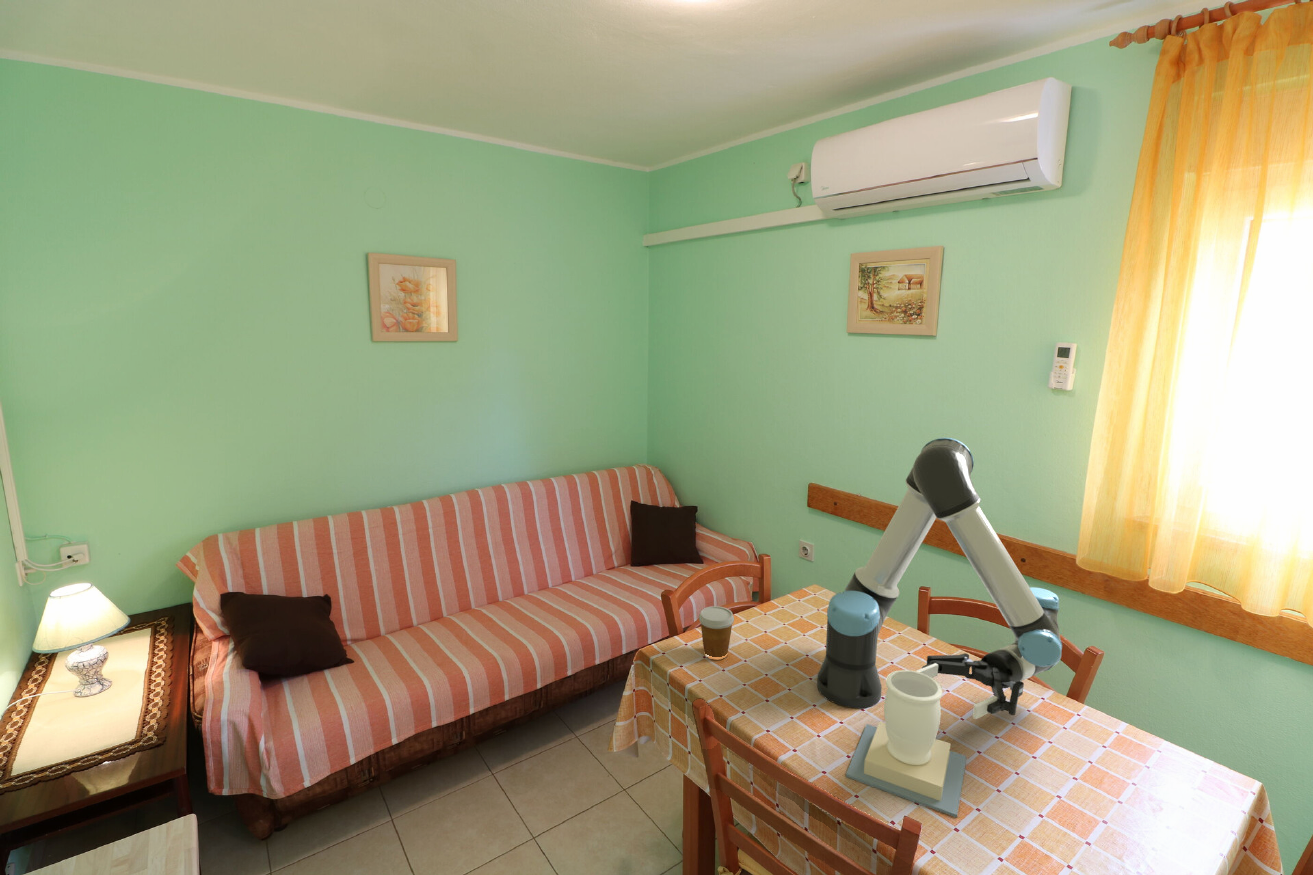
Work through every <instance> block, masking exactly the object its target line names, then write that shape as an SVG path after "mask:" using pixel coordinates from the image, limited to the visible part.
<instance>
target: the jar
mask: <svg viewBox="0 0 1313 875" xmlns="http://www.w3.org/2000/svg"><path fill="white" fill-rule="evenodd" d="M916 671H917V670H910V669H909V670H908V669H907V670H906V669H899V670H894V671H892V672H890V673H889V674H888V675H887V676H886V679H885V685H886V688H887V689H886V693H885V697H884V704H883V714H884V716H883V717H884V720H885V722H884V723H885V725H886V732H887V736H888V738H889V740H888V742H887V748H888V751H889V752H890V754H891V755H892V756H893V757H895V758H896V759H898V760H899V761H901V762H904V763H907V764H911V765H922V764H925V763H927V762H928V761H929V760H930V759H931V750H930V749H931V748H932V746H933V744H934V742H935V739H937V734H938V732H939V729H940V724H941V716H942V714H941V713H942V712H941V711H942V710H941V701H940V700H941V698H942V697H943V687H942V685H941V684H940V683H939V681H937V679H935V678H934V677H933V678H932V677H930V676H928V675H926V674H923V673H920V672H916Z"/></svg>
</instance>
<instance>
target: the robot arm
mask: <svg viewBox="0 0 1313 875" xmlns="http://www.w3.org/2000/svg"><path fill="white" fill-rule="evenodd" d="M974 461H975V460H974V457H973V454H972V453H971V450H970V449H969V447H968V446H967V445H966V444H964V443H963V442H962V441H960V440H959V439H955V438H953V437H938V438H935V439H933V440H930V441H928V442H927V443H926V444H924V446H923V447H922V449H921V450H920V452H919V454H918V456H916V459H915V460H914V462H913V465H912V468H911V469H910V471H909V473H908V474H907V477H906V479H905V481H904V483H905V484H906V487H907V491H906V492H905V494H904V496H903V498H902V500H901V502H900V503H899V505H898V507H897V509H896V511H895V513H894V514H893V516H892V518H891V520H890V521H889V523H888V525H887V527H886V528H885V530H884V532H883V534H882V536H881V538H880V539H879V541H878V543H877V545H876V547H875V548H874V550H873V551H872V554H871V555H870V557H869V559H868V561H867V563H866V564H865V566H862V567H861V566H860V567H858V568H857V569H856V570H855V572H854V573H853V575H852V577H851V579H850V580H849V582H848V584H847V585H846V586H845V589H844V590H843V591H842V592H836V593H835V594H834V595H833V596H832V597H831V598H830V599H829V602H828V606H827V611H826V617H827V623H826V624H827V625H826V641H825V657H824V659H823V662H822V664H821V666H820V668H819V670H818V672H817V676H816V689H817V691H818V692H819V691H820V692H819V693H820V695H821V696H822V697H824V698H825V697H826V698H827V699H826V698H825V699H826V700H828V699H829V700H828V701H830V702H831V701H833V702H834V704H836V705H838V706H842V707H845V708H846V707H847V708H853V709H864V708H869V707H872V706H874V705H876V704H878V703H879V701H880V700H881V699H882V690H883V689H882V683H881V678H880V675H879V672H878V668H877V665H876V662H877V660H876V659H877V650H878V649H877V647H878V638H879V634H880V631H881V629H882V627H883V624H884V622H885V619H886V618H887V616H888V614H889V612H890V611H891V609H892V607H893V606H894V604H895V602H896V600H897V599H898V597H899V595H900V589H899V588H898V584H899V582H900V581H901V579H902V577H903V575H904V574H905V572H906V570H907V569H908V567H909V565H910V563H911V562H912V560H913V558H914V556H915V555H916V553H917V552H918V550H919V548H920V546H921V544H923V541H924V540H925V539H926V536H927V534H928V533H929V531H930V530H931V528H932V526H933V524H934V522H935V521H936V519H937V520H940V521H943V522H945V524H946V526H947V527H948V529H949V530H950V533H952V536H953V537H954V538H955V541H957V543H958V545H959V547H960V548H961V550H962V552H963V554H964V556H966V558H967V560H968V562H969V563H970V565H971V567H972V568H973V569H974V572H975V573H976V574H977V576H978V577H979V580H980V581H981V582H982V584H983V586H984V588H985V589H986V591H987V593H988V594H989V595H990V597H991V599H992V600H993V603H994V604H995V605H996V607H997V610H999V612H1000V613H1001V615H1002V617H1003V619H1004V620H1005V622H1006V623H1007V625H1008V627H1009V629H1010V630H1011V632H1012V634H1013V635H1014V637H1015V639H1014V642H1013V643H1011V644H1008V645H1006V646H1003V647H1000V648H998V649H996V650H994V651H991V652H989V653H986V654H985V655H984V656H982V658H981V659H979V660H973V659H971V658H970V655H969V653H964V652H963V653H961V654H946V655H945V654H944V655H940V654H939V655H935V654H934V655H927V656H926V665H922V667H921V668H920V669H917V670H915V671H916V672H920V673H923V674H926V675H928V676H930V677H932V678H933V679H934V678H936V677H938V674H942V675H951V676H961V677H964V678H965V679H968V680H975V681H977V682H980V683H982V684H983V685H984V686H986V687H990V688H991V692H992V693H993V695H992V696H990V697H988V698H985V699H984V700H981V701H979V702H977V703H975V704H973V708H972V709H973V710H972V718H973V719H974V720H978V719H980V718H982V717H983V716H986V715H987V714H991V715H994V714H996V713H999V712H1004V711H1006V712H1007V713H1008V714H1009V715H1010V716H1015V715H1016V711H1017V706H1018V701H1019V698H1020V697H1021V696H1022V695H1023V694H1024V693H1023V692H1024V685H1025V684H1024V682H1023V681H1025V680H1028V679H1029V678H1032V677H1034V676H1035V675H1038V674H1040V673H1043V672H1046V671H1049V670H1050V669H1052V668H1053V667H1055V666H1056V665H1057V664H1058V663H1060V661H1061V659H1062V649H1063V643H1062V640H1061V634H1060V628H1059V621H1058V616H1059V611H1060V607H1059V606H1060V605H1059V604H1060V599H1059V596H1058V595H1057V594H1056V593H1054V592H1052V591H1051V590H1049V589H1045V588H1042V587H1031V586H1030V585H1029V584H1028V583H1027V581H1026V580H1025V578H1024V576H1023V574H1022V573H1021V571H1020V570H1019V569H1018V567H1017V565H1016V563H1015V562H1014V560H1013V559H1012V557H1011V555H1010V553H1009V552H1008V550H1007V549H1006V546H1004V544H1003V543H1002V541H1001V539H1000V538H999V536H998V534H997V533H996V531H995V529H994V528H993V525H991V523H990V521H989V520H988V518H987V517H986V515H985V513H984V512H983V510H982V509H981V507H980V502H981V497H980V495H979V494H978V492H977V491H976V489H975V486H974V484H973V481H972V478H971V477H972V476H971V473H973V470H974V467H975V466H974V465H975V464H974V463H975V462H974ZM970 671H971V673H970ZM1004 689H1009V690H1010V691H1011V692H1010V693H1011V694H1010V697H1009V698H1010V699H1009V701H1007V699H1006V698H1007V695H1005V691H1004ZM833 702H832V703H833Z"/></svg>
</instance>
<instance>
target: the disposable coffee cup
mask: <svg viewBox="0 0 1313 875" xmlns="http://www.w3.org/2000/svg"><path fill="white" fill-rule="evenodd" d="M698 620H699V622H700V629H701V637H702V646H703V647H702V648H703V653H704V652H705V654H707V655H709V656H712V657H722V656H725V655H726V654H727V653H728V654H729V649H730V641H731V634H732V628H733V623H734V622H735V617H734V614H733V612H732V610H731V609H730V608H729V609H728V608H727V607H724V606H718V605H717V606H707V607H705V608H703V609H701V611H700V613H699V616H698Z"/></svg>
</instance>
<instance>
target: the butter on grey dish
mask: <svg viewBox="0 0 1313 875" xmlns="http://www.w3.org/2000/svg"><path fill="white" fill-rule="evenodd" d="M864 727H865V728H864V730H863V732H862V735H861V737H860V740H859V742H858V745H857V747H856V748H855V751H854V754H853V756H852V758H851V761H850V763H849V766H848V768H847V771H846V774H845V778H848V779H852V780H854V781H857V782H859V783H861V784H865V785H867V786H870V787H872V788H875V789H879V790H881V791H883V792H886V793H889V794H892V795H895V796H896V797H900V798H902V799H906V800H908V801H910V802H913V803H916V804H919V805H921V806H924V807H927V808H930V809H931V810H932V809H933V810H934V811H937V812H941V813H943V814H946V815H949V816H951V817H954V818H958V813H959V806H960V801H961V800H960V799H961V794H962V787H963V783H964V782H963V780H964V776H965V775H964V774H965V769H966V768H965V767H966V761H967V755H964V754H961V753H959V752H956V751H952V750H951V743H950V742H946V741H944V740H940V739H937V738H936V739H935V742H934V744H933V746H932V748H931V749H930V750H931V759H930V760H929V761H928V762H927V763H925V764H922V765H911V764H907V763H904V762H901V761H899V760H898V759H896V758H895V757H893V756H892V755H891V754H890V752H889V751H888V748H887V742H888V740H889V738H888V736H887V732H886V725H885V722H884V721H881V720H880V721H879V723H878V725H877V726H876V725H875V726H874V725H871V724H869V723H866V725H865V726H864Z"/></svg>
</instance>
